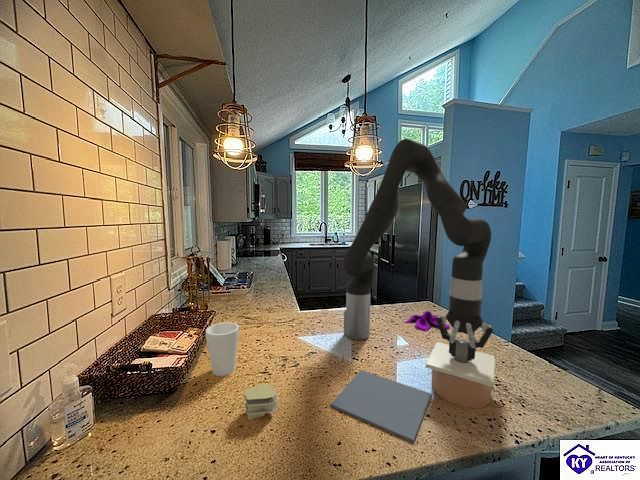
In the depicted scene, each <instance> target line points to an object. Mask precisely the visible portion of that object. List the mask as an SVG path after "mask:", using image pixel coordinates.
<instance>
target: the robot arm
mask: <svg viewBox="0 0 640 480" xmlns="http://www.w3.org/2000/svg"><path fill="white" fill-rule="evenodd" d="M438 165H439V164H438V163H437V161H436V159H435V157H434V156H433V153H432V152H431V150H430V149H429V147H428V146H427V145H425V144H423V143H421V142H420V141H419V142H418V141H416V140H413V139H411V138H403V139H401V140H400V141H399V142H398V143H397V144H396V145H395V146H394V148H393V150H392V153H391V155H390V157H389V160H388V163H387V166H386V169H385V172H384V174H383V177H382V180H381V181H380V184H379V187H378V189H377V192H376V194H375V196H374V198H373V200H372V202H371V203H370V206H369V208H368V209H367V213H366V215H365V216H364V219H363V221H362V224H361V225H360V228H359V230H358V232H357V234H356V237H355V238H354V240H353V242H352V243H351V245H350V246H349V248H348V249H347V251H346V253H345V255H344V257H343V260H342V269H343V271H344V273H345V274H346V275H348V276H350V277H352V278H351V280H350V281H349V282H348V283H347V284H346V287H345V288H346V292H345V293H346V295H345V297H346V298H345V299H346V301H345V302H346V304H345V305H346V306H345V310H344V311H343V336H345V337H347V338H349V339H352V340H357V341H358V340H359V341H360V340H361V341H362V340H366V339H368V338H370V326H371V324H370V323H371V322H370V321H371V292H372V291H371V290H372V286H373V284H374V276H375V275H374V272H375V262H374V261H375V260H374V257H373V255H372V253H371V252H370V250H371V249H372V247H373V246H374V245H375V244H376V243H377V242H378V241H379V240H380V239H381V237H382V236H383V235H385V234H386V232H387V231H388V230H389V229H390V226H391V225H392V223H393V221H394V219H395V217H396V216H397V212H398V210H399V188H400V184H401V181H402V179H403V177H404V175H405V173H406V172H408V173H413V174H414V175H415V176H416V177H418V178H419V179H420V180H421V181H422V183H423V184H424V186H425V193H426V196H427V199H428V201H429V202H430V205H431V206H432V207H433V209H434V210H435V212H436V213H437V215H439V217H440V219H441V223H442V225H443V226H442V227H443V230H444V233H445V235H446V237H447V238H448V240H449V241H450V242H451V243H452V244H453V245H456V246H459V247H463V248H462V251H461V252H460V253H459V254H457V255H455V256H454V257H453V259H452V262H451V263H452V265H451V279H450V282H449V283H450V284H449V296H448V297H449V299H448V311H447V313H446V315H442V314H439V315H437V316H438V317H437V319H436V321H437V324H438V326H439V328H438V330H439V329H440V330H439V332H440V336H441V338H442V339H443V340H446V341H448V342H449V344H448V345H449V353H450V354H451V356H453V357H454V354H455V340H456V339H457V335H458V333H461V334H462V333H463V334H465V335H467V337H468V342H470V347H469V357H468V361H471V360H472V359H473V360H474V358H475V351H476V348H479V349H480V348H481V349H483V348H484V347H485V345H486V343H487V342H488V341H489V339H490V337H491V336H492V333H493V332H494V327H493V325H492V324H487V323H485V322H483V319H482V317H481V316H482V301H483V272H484V271H483V266H484V262H485V259H486V257H487V253H488V250H489V248H490V245H491V241H492V229H491V226H490V224H489V223H488V222H487V221H486V220H484V219H483V218H482V219H481V218H477V217H476V218H467V217H466V216H465V215H464V213H465V212H466V211H467V206H466V203H465V201H464V199H462V197H461V196H460V195H459V193H458V192H457V191H456V190H455V188H453V186H452V185H451V184H450V182H449V181H448V180H447V178H446V177H445V176H444V174H443V173H442V170H441V169H440V168H439V166H438ZM447 322H448V323H449V324H450V325H449V326H450V327H451V328H452V330H451V333H449V332H448V329H446V326H445V324H446V323H447ZM481 327H482V330H481V331H482V332H483V333H482V335H481V337H480V338H479V340H476V333H475V332H476V331H477V330H478V329H479V328H481Z"/></svg>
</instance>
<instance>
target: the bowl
mask: <svg viewBox="0 0 640 480" xmlns="http://www.w3.org/2000/svg"><path fill="white" fill-rule="evenodd" d="M431 386H432V388H433V390H434V391H435V393H436V394H437V395H438V396H440V397H442V398H443V399H444V400H445V401H446V402H449V403H452V404H454V405H458V406H460V407H464V408H473V409H474V408H475V409H477V408H479V409H482V408H483V407H486V406H487V405H490V404H491V402H492V401H491V399H492V387H490V386H487V385H484V384H480V383H477V382H473V381H470V380H467V379H463V378H460V377H456V376H453V375H450V374H446V373H443V372H439V371H436V370H433V369H431Z"/></svg>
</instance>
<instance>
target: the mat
mask: <svg viewBox="0 0 640 480" xmlns="http://www.w3.org/2000/svg"><path fill="white" fill-rule="evenodd" d="M431 398H432V393H431V392H428V391H425V390H422V389H420V388H417V387H412V386H411V385H408V384H404V383H401V382H397V381H395V380H392V379H388V378H387V377H382V376H379V375H377V374H374V373H372V372H368V371H365V370H363V369H362V370H360V371H359V372H358V373H357V374H356V375H355V376H354V378H352V379H351V381H350V382H349V383H348V384H347V385H346V386H345V387H344V388H343V389H342V391H341V392H340V393H339V394H338V395H337V396H336V397H335V398H334V399H333V401H331V403H330V405H329V406H330V407H331V408H334V409H336V410H338V411H340V412H343V413H345V414H347V415H349V416H352V417H353V418H357V419H359V420H361V421H363V422H366V423H368V424H370V425H372V426H375V427H377V428H379V429H382V430H384V431H386V432H388V433H390V434H393V435H395V436H397V437H399V438H402V439H404V440H407V441H409V442H412V443H414V442H415V440H416V437H417V435H418V432H419V429H420V427H421V424H422V422H423V419H424V417H425V413H426V410H427V409H428V405H429V403H430V401H431Z"/></svg>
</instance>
